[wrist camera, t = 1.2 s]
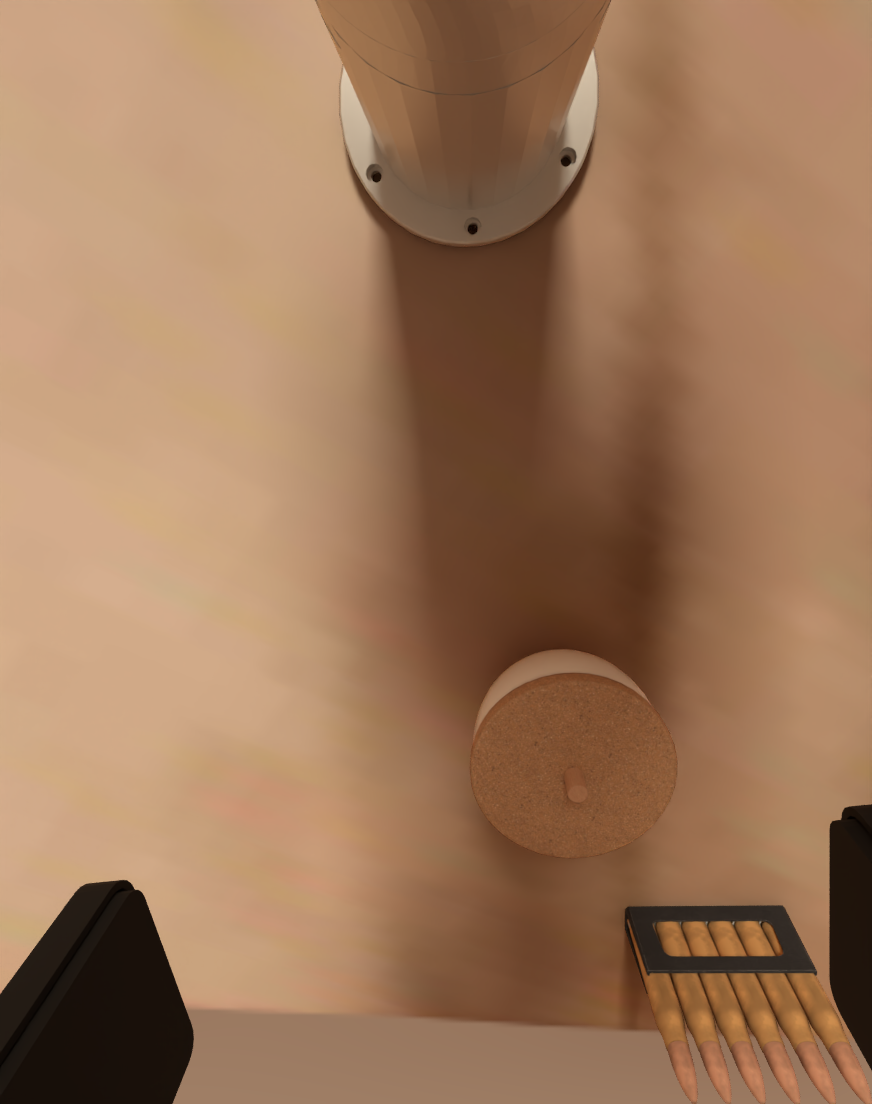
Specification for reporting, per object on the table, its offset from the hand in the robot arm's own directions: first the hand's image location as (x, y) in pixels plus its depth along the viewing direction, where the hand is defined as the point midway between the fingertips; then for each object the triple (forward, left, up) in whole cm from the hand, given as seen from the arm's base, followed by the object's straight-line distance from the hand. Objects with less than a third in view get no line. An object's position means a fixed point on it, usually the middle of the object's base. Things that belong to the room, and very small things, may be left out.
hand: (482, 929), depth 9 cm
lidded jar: (+13, +4, -31) cm, 34 cm away
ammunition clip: (+30, +14, -31) cm, 46 cm away
